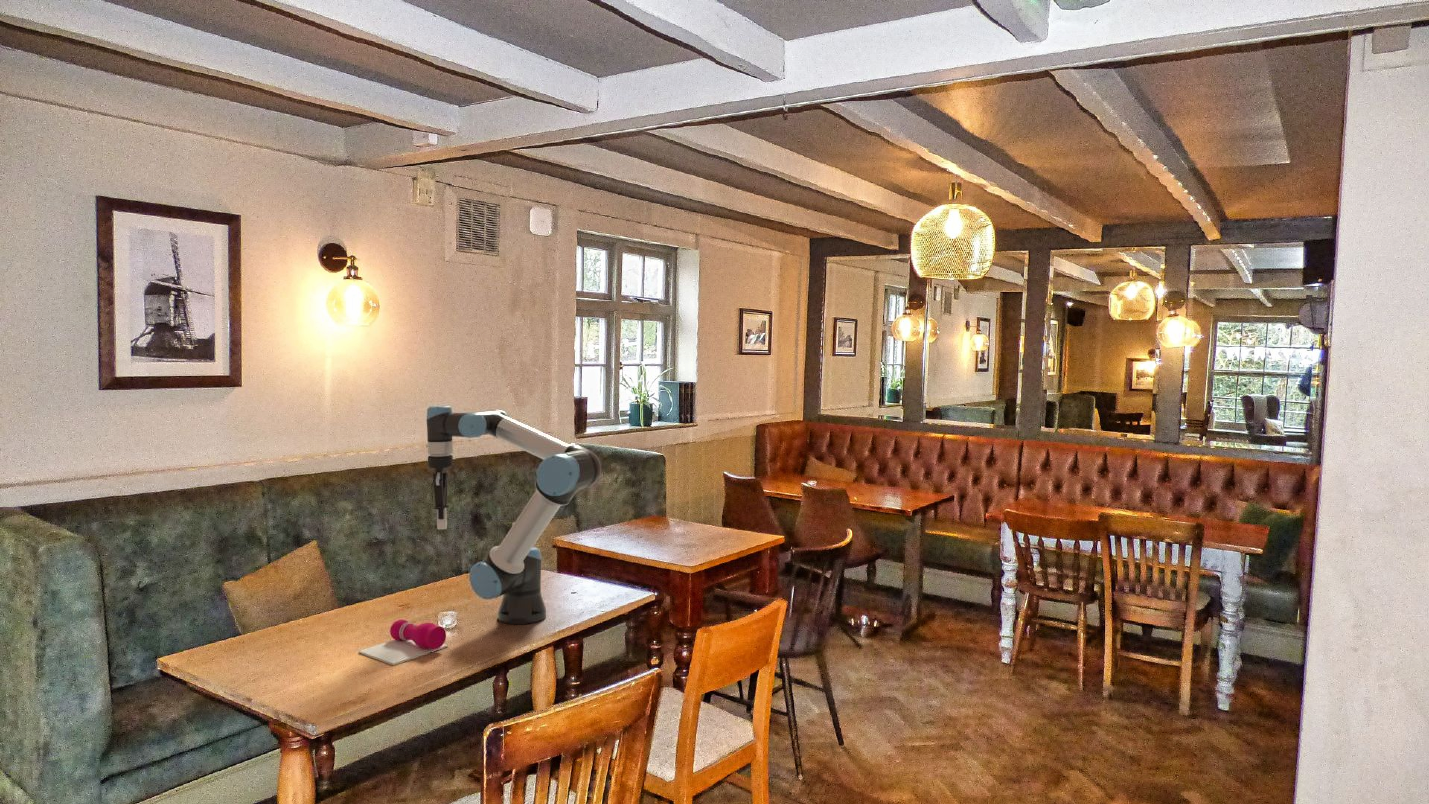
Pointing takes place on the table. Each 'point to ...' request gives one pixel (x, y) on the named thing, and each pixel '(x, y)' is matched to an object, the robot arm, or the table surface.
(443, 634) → the pepper mill
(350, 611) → the table surface
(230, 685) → the table surface
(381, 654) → the grey rubber mat
